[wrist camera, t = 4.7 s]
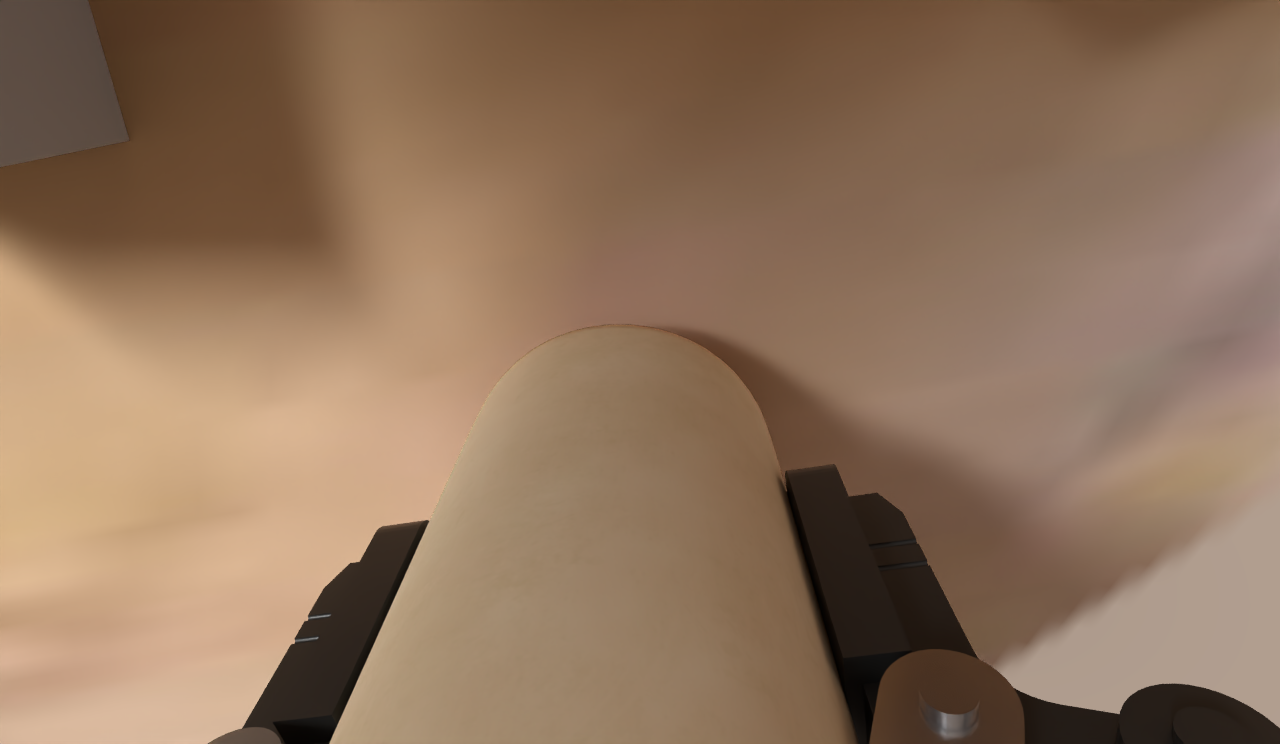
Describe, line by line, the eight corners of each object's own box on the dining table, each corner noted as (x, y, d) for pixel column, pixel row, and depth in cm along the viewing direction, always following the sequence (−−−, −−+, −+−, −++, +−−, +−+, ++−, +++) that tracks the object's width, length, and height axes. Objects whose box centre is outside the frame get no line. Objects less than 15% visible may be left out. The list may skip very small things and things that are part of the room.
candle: (516, 277, 12) (102, 1042, 3) (818, 373, 13) (1225, 1231, 4) (448, 528, 14) (98, 1387, 5) (707, 598, 15) (789, 1463, 6)
